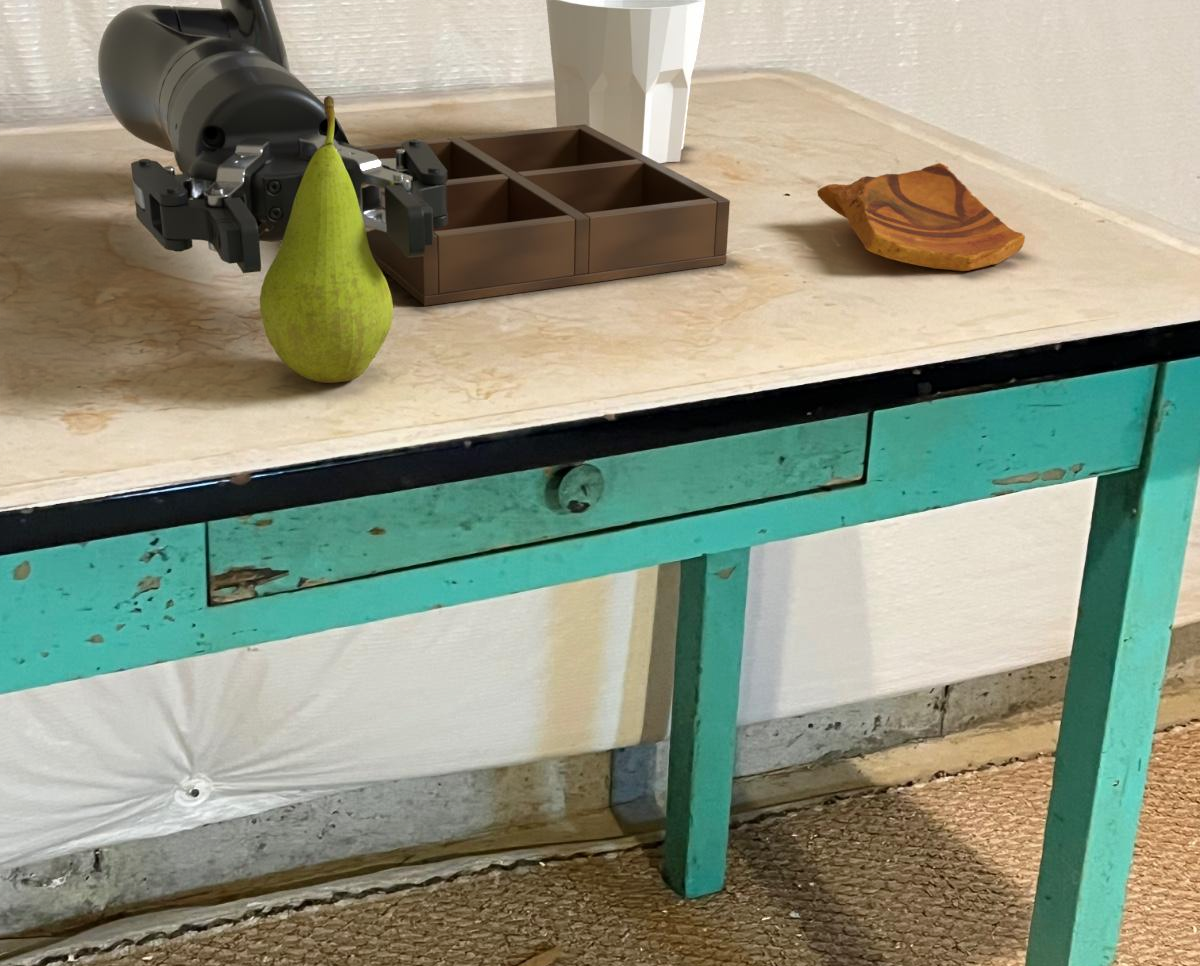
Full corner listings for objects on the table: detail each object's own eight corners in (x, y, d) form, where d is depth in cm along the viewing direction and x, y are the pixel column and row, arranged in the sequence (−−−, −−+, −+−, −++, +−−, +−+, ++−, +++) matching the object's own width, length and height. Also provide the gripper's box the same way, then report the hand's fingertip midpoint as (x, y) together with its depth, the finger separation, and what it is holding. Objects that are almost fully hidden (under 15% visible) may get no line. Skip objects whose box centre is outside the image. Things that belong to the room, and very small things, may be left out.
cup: (610, 181, 105) (615, 14, 100) (514, 146, 112) (514, -12, 107) (729, 157, 110) (739, -2, 106) (630, 125, 117) (635, -26, 112)
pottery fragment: (944, 159, 99) (1047, 175, 91) (943, 239, 101) (1045, 261, 92) (791, 178, 96) (883, 196, 87) (793, 260, 98) (883, 285, 89)
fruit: (287, 412, 72) (267, 129, 66) (250, 365, 77) (228, 96, 71) (414, 393, 75) (405, 117, 69) (371, 348, 79) (360, 86, 73)
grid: (424, 306, 84) (422, 237, 83) (313, 211, 98) (309, 150, 96) (726, 264, 91) (730, 200, 90) (584, 181, 105) (585, 124, 103)
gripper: (95, 73, 80) (150, 164, 66) (392, 56, 84) (500, 139, 71) (114, 229, 83) (169, 346, 70) (397, 205, 88) (500, 310, 75)
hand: (335, 241), depth 70 cm, fingers open, 6 cm apart
